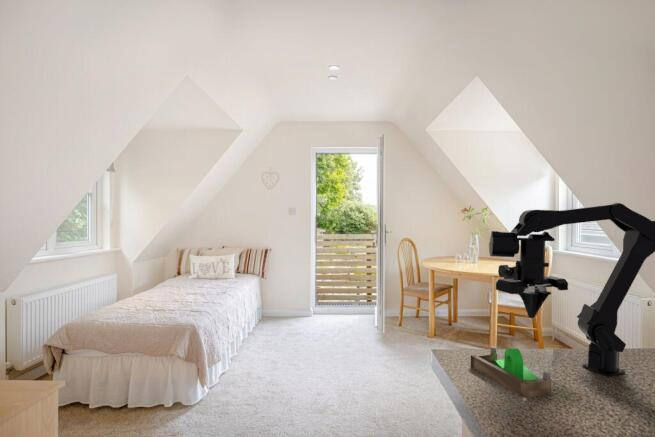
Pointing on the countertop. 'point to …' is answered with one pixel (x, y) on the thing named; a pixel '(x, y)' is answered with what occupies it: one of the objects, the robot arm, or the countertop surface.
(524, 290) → the robot arm
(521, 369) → the mechanical part
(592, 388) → the countertop surface
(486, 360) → the dock bracket
